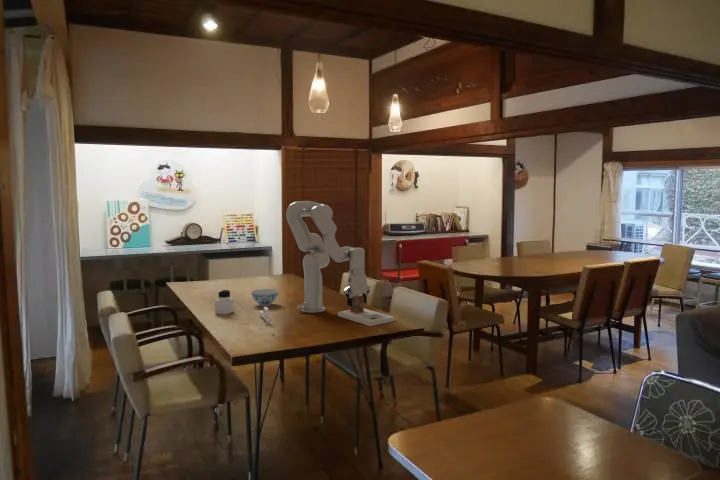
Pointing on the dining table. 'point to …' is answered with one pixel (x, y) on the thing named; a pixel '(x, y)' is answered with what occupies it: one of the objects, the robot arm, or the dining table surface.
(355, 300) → the walnut block
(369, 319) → the pocket board
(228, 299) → the medicine bottle
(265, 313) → the llama figurine
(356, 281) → the robot arm
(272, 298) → the chinaware
